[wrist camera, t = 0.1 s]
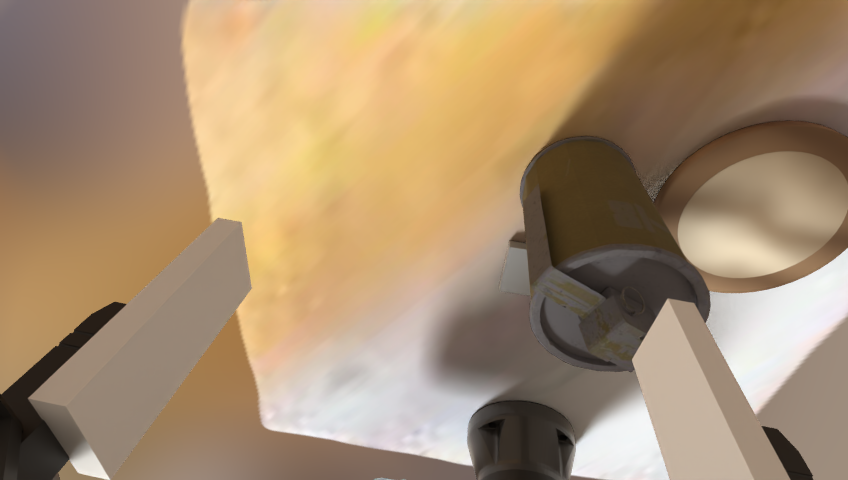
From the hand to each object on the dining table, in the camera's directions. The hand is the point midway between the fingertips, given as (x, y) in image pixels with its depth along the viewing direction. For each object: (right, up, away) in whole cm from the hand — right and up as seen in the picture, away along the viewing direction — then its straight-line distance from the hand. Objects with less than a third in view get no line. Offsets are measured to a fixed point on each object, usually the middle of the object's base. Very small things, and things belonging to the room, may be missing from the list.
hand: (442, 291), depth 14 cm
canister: (+14, +7, +27) cm, 31 cm away
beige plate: (+29, +4, +26) cm, 40 cm away
